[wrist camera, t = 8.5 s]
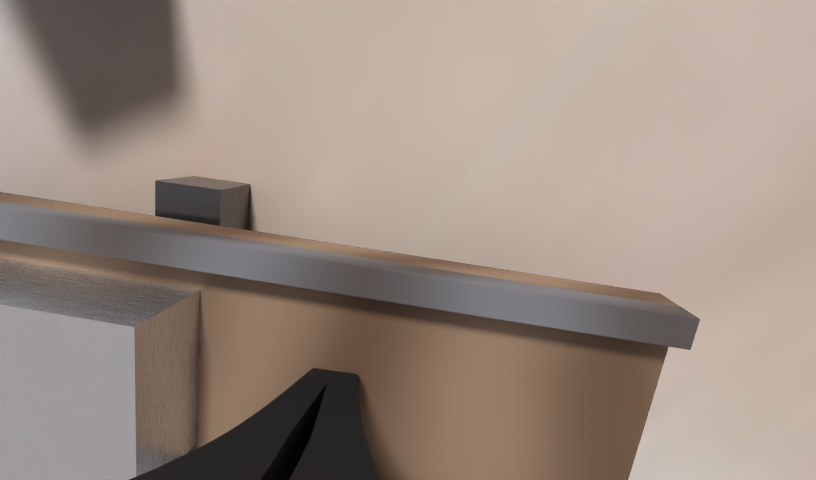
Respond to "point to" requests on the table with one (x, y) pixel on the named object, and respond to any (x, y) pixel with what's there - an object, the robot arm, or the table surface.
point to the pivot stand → (203, 201)
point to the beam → (392, 340)
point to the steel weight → (94, 373)
